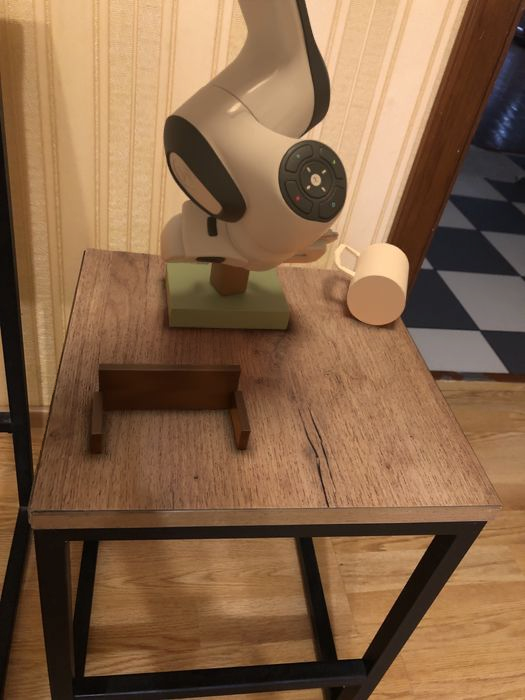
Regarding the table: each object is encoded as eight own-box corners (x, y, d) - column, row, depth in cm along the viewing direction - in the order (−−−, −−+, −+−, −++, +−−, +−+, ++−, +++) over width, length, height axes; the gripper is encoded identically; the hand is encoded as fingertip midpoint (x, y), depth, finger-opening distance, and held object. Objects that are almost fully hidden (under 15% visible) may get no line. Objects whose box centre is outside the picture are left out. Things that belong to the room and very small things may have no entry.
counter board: (169, 326, 76) (171, 308, 74) (165, 280, 84) (166, 262, 83) (286, 329, 80) (290, 312, 78) (271, 284, 88) (274, 267, 86)
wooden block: (233, 276, 83) (241, 226, 78) (247, 292, 80) (256, 241, 75) (208, 281, 81) (214, 230, 76) (221, 297, 78) (229, 245, 73)
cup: (313, 293, 84) (324, 261, 92) (383, 334, 85) (389, 299, 93) (343, 250, 79) (352, 220, 86) (417, 294, 80) (420, 261, 88)
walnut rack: (91, 453, 59) (90, 412, 55) (94, 403, 64) (93, 363, 60) (246, 449, 62) (255, 410, 59) (237, 402, 68) (244, 364, 64)
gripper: (342, 205, 69) (300, 236, 82) (169, 199, 62) (153, 234, 75) (346, 258, 68) (303, 281, 81) (172, 257, 62) (156, 282, 75)
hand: (229, 258), depth 78 cm, fingers open, 6 cm apart
